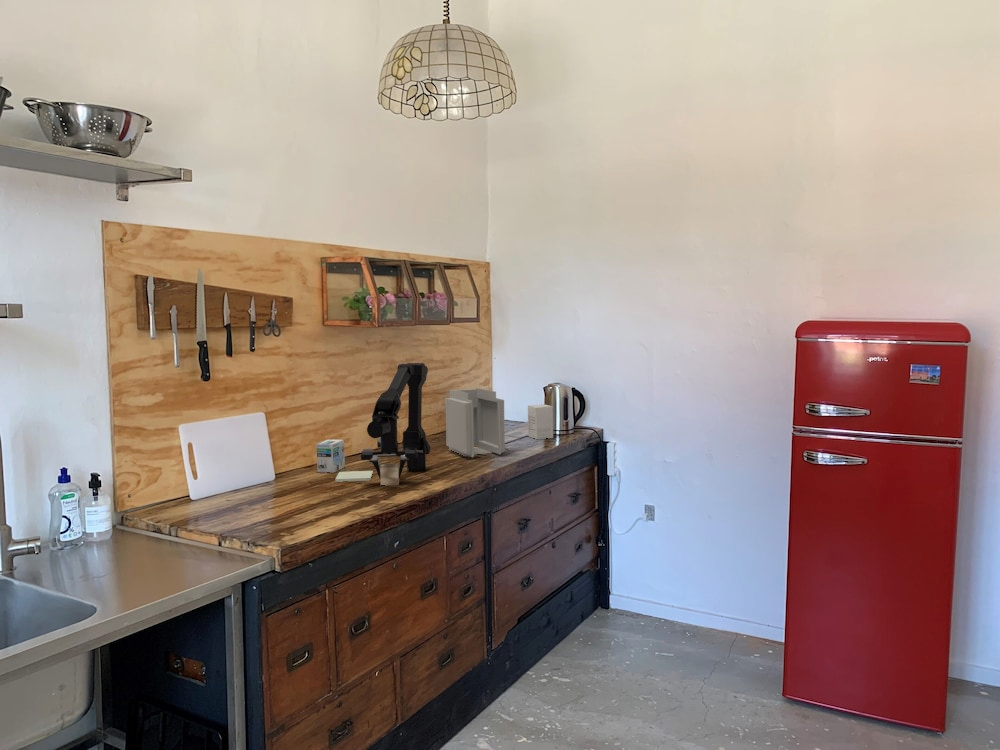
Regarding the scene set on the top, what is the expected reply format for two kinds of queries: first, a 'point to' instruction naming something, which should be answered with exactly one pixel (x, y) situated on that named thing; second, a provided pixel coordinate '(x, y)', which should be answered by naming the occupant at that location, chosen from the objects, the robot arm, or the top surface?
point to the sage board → (354, 476)
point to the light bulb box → (330, 455)
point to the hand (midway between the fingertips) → (390, 478)
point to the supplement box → (540, 421)
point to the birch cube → (389, 474)
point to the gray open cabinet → (475, 422)
